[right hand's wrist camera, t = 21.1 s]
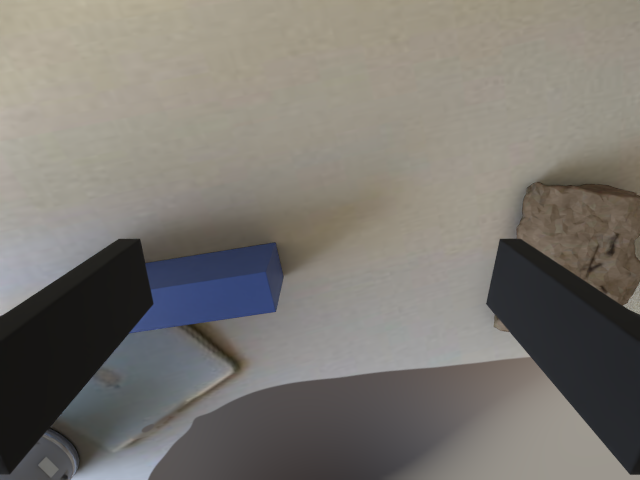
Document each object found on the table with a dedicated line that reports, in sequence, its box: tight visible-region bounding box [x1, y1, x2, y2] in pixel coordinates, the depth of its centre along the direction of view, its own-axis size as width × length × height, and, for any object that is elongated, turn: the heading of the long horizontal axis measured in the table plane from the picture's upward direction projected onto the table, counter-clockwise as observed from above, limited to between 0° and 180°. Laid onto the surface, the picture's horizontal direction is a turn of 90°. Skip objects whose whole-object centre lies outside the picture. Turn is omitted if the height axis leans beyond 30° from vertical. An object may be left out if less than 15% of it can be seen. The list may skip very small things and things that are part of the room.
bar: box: [130, 243, 284, 333], centre depth 44 cm, size 30×5×9 cm, turn 100°
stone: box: [494, 182, 640, 332], centre depth 44 cm, size 21×15×6 cm
